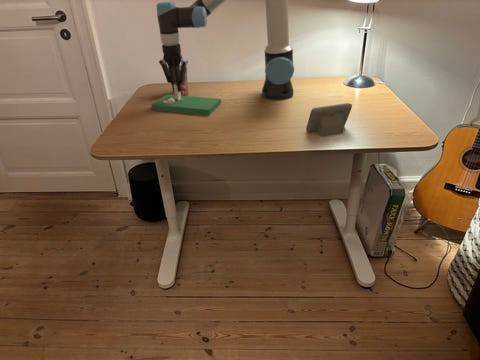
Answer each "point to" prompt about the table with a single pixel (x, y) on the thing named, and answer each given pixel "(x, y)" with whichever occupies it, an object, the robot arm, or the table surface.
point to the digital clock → (329, 119)
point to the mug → (184, 84)
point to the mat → (187, 104)
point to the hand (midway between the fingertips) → (178, 98)
